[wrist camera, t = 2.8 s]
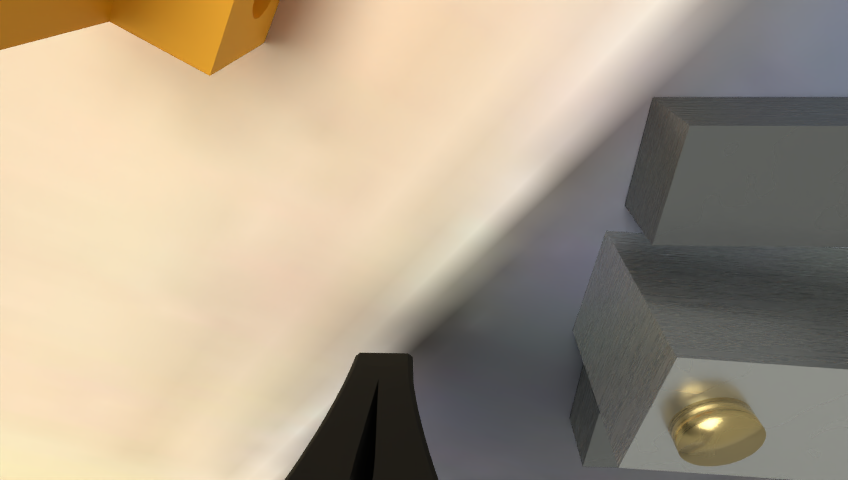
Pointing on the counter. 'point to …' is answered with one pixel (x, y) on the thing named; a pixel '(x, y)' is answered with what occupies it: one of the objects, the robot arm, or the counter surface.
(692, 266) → the block with brass knobs
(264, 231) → the counter surface
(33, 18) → the pipe clamp
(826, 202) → the chain end
